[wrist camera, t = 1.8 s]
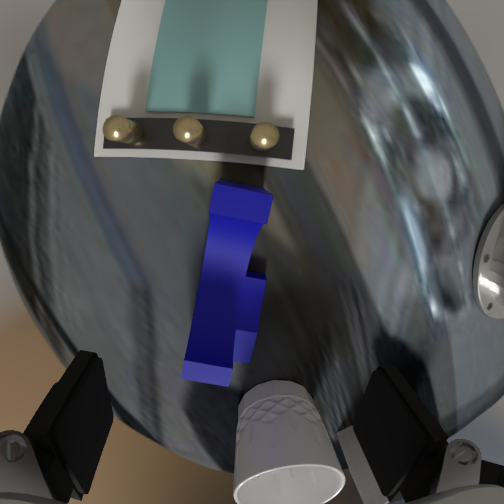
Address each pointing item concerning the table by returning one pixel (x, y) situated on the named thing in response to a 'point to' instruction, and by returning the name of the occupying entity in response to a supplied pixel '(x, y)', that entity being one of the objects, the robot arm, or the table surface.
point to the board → (212, 69)
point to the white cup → (283, 448)
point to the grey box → (360, 468)
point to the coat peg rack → (199, 136)
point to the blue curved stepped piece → (227, 285)
